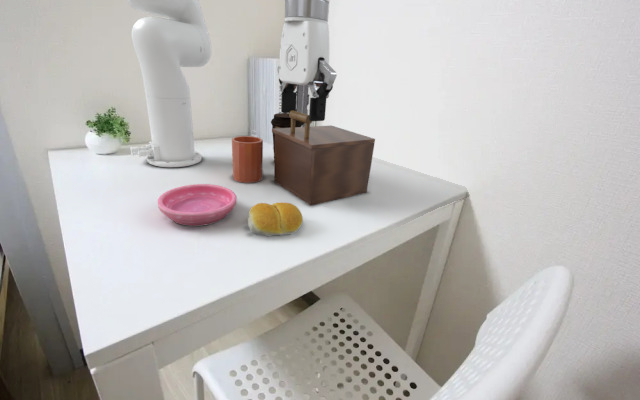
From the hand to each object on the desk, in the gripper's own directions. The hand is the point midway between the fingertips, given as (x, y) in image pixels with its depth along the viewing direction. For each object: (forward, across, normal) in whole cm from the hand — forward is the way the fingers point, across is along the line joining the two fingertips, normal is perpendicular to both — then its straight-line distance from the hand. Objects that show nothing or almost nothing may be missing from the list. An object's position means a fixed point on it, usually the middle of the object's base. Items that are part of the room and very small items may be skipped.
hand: (301, 116), depth 59 cm
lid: (+5, 0, +6) cm, 7 cm away
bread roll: (+16, +10, -12) cm, 23 cm away
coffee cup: (+16, -18, +8) cm, 26 cm away
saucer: (+16, 0, -21) cm, 26 cm away
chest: (+16, 0, +6) cm, 17 cm away
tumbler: (+16, -12, -6) cm, 21 cm away
